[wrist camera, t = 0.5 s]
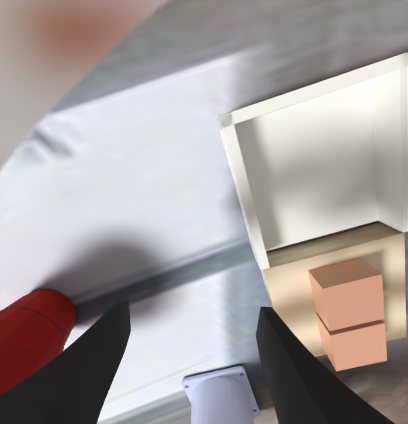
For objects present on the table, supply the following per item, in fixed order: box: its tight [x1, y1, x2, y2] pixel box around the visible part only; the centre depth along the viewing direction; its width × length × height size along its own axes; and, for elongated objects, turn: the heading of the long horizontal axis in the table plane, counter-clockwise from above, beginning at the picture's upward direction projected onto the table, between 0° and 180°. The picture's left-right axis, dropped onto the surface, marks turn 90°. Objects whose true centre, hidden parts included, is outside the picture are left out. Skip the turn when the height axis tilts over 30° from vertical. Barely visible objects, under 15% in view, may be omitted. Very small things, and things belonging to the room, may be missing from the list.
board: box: [261, 222, 406, 357], centre depth 22 cm, size 12×12×2 cm
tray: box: [217, 52, 408, 270], centre depth 18 cm, size 13×13×3 cm
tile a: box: [316, 313, 387, 371], centre depth 20 cm, size 4×4×2 cm
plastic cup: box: [0, 289, 76, 395], centre depth 18 cm, size 11×11×12 cm
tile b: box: [308, 257, 385, 331], centre depth 19 cm, size 4×4×2 cm
